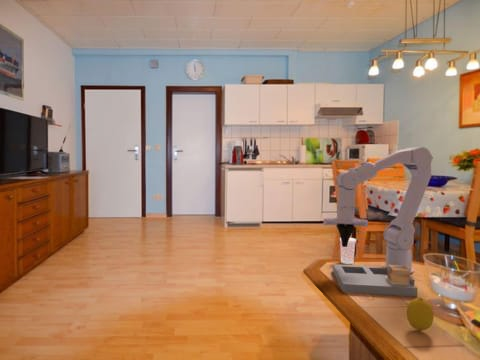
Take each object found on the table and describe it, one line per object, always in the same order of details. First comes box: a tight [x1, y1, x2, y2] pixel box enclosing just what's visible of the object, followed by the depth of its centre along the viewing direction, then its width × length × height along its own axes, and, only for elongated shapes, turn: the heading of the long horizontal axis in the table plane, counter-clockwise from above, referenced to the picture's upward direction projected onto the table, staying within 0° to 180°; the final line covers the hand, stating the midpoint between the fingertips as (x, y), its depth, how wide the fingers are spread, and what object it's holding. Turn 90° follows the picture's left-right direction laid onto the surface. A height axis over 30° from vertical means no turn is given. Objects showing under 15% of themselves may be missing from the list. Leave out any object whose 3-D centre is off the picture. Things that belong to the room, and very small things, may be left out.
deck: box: [332, 263, 418, 297], centre depth 116 cm, size 20×21×4 cm
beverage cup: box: [339, 237, 357, 265], centre depth 138 cm, size 6×6×14 cm
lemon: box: [406, 296, 434, 333], centre depth 84 cm, size 6×6×8 cm
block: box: [387, 265, 411, 284], centre depth 111 cm, size 5×5×4 cm
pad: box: [385, 276, 411, 285], centre depth 111 cm, size 7×6×1 cm
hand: (344, 246), depth 125 cm, fingers closed
